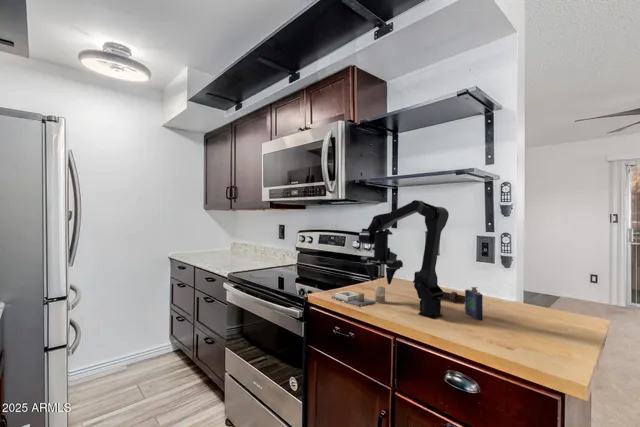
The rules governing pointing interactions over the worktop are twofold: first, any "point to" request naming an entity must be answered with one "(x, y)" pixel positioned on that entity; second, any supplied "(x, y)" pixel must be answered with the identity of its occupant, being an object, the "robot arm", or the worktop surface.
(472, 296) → the flask
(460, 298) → the bolt
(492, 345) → the worktop surface
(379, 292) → the beige rounded cylinder
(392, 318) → the worktop surface
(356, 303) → the board
